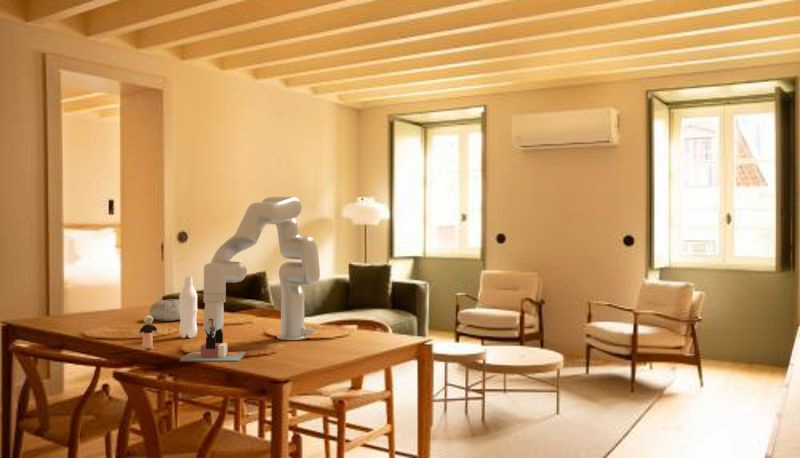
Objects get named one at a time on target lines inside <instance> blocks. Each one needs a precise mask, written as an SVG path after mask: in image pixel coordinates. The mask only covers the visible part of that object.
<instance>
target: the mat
mask: <svg viewBox="0 0 800 458" xmlns="http://www.w3.org/2000/svg"><path fill="white" fill-rule="evenodd" d="M236 352H237V353H239V354H240V353H241V354H240V355H229V356H225V357H201V354H195V353H190V352H189V353H187V354H186V355H185V356H183V357H181V358H180V359H179V362H230V363H231V362H234V363H235V362H240V361H241V359H242V358H244V356H245V355H244V354H245V353H246V352H247V351H236ZM243 355H244V356H243Z"/></svg>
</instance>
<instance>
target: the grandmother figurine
mask: <svg viewBox="0 0 800 458" xmlns="http://www.w3.org/2000/svg"><path fill="white" fill-rule="evenodd" d="M153 321H154V318H153V317H152V316H151V315H150V314H149V315H146V316H144V318H143V322H144V324H145V325H143V326H142V327H141V328H140V329H139V331H138V334H137V337H141V335H142V334H143V335H142V342H141V347H142V348H141V349H140V350H141V351H149V350H154V349H155V348H154V347H153V343H154V342H153V341H154V340H153V337H154V335H153V334H154V333H155V335H158V334H159V331H158V328H157V327H156V326H155V325H153V324H152V323H153ZM153 332H154V333H153Z"/></svg>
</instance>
